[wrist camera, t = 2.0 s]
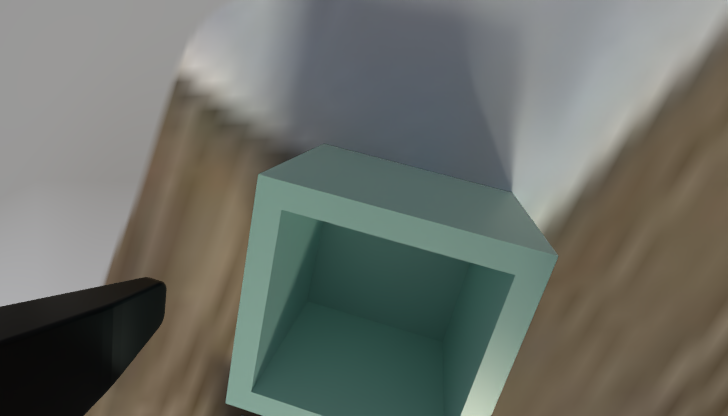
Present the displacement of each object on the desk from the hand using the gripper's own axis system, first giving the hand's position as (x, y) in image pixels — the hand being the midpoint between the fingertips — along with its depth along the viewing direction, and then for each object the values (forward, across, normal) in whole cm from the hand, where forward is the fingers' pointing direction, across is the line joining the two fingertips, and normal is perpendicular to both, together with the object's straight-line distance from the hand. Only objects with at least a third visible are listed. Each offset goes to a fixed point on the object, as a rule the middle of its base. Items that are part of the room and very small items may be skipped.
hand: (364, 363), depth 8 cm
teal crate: (+6, 0, 0) cm, 6 cm away
